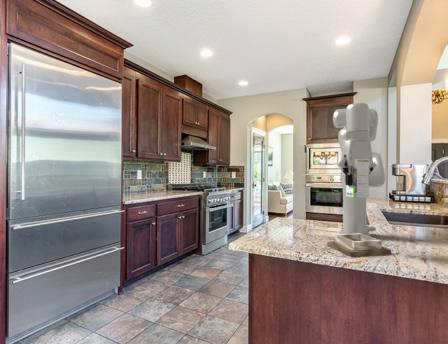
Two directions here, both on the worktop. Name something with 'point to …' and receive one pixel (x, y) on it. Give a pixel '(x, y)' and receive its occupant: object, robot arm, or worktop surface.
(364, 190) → the syrup box
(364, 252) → the collar board
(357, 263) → the worktop surface
